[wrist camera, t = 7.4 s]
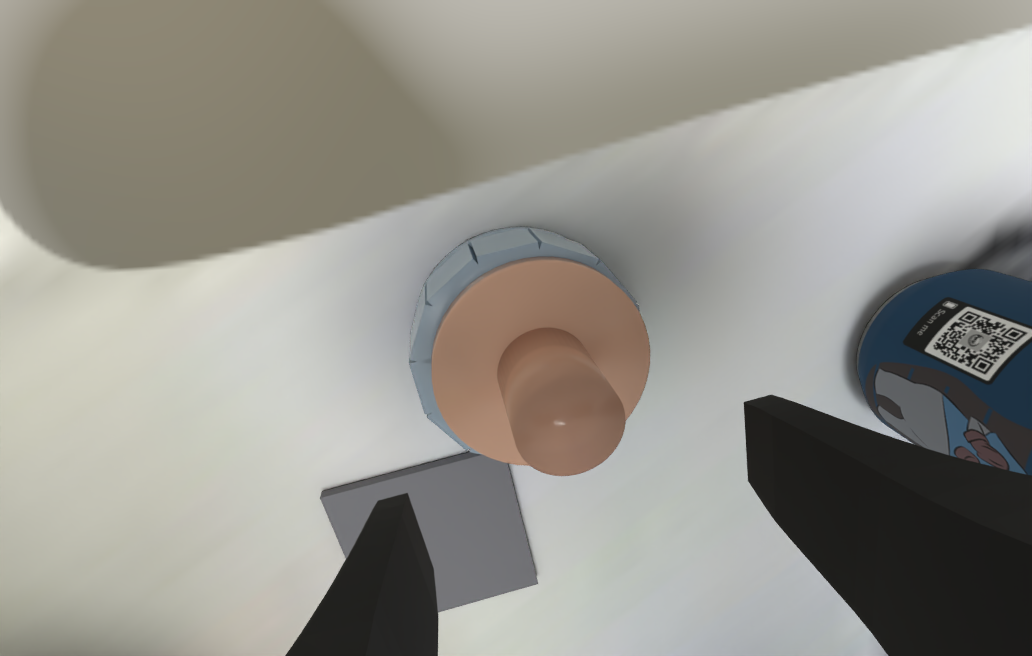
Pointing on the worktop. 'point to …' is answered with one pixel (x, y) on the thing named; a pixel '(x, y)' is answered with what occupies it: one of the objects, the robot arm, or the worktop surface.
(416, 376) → the bowl
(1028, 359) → the soda can
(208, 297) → the worktop surface
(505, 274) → the lid
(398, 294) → the worktop surface
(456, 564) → the coaster
